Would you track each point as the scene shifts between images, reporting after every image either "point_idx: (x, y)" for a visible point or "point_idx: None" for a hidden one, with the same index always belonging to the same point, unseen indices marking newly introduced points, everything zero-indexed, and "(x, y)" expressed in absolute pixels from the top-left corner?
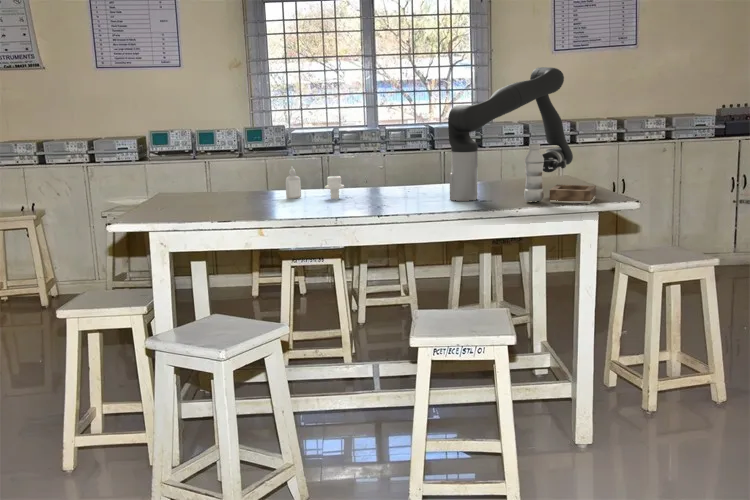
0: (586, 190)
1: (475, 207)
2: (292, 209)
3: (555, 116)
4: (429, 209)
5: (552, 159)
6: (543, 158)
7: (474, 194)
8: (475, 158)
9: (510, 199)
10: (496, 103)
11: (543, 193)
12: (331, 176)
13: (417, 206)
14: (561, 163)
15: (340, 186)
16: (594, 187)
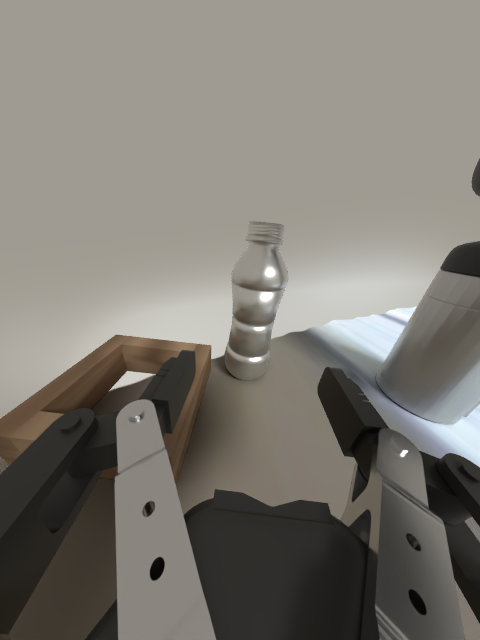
0: (122, 338)
1: (316, 334)
2: None
3: None
4: (356, 325)
5: (174, 483)
6: (233, 268)
7: (382, 371)
8: (433, 292)
9: (317, 409)
10: None
11: (225, 352)
12: None
13: (392, 337)
14: (105, 418)
15: None
16: (44, 388)
